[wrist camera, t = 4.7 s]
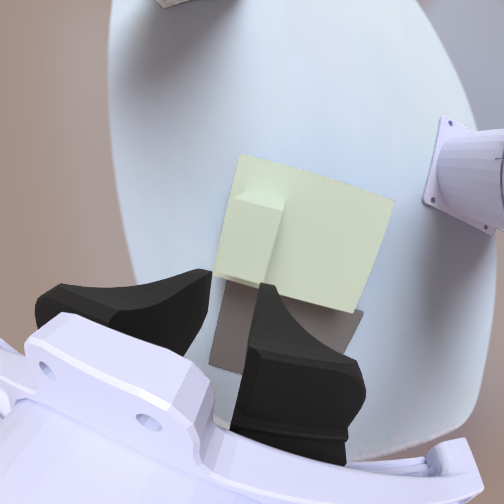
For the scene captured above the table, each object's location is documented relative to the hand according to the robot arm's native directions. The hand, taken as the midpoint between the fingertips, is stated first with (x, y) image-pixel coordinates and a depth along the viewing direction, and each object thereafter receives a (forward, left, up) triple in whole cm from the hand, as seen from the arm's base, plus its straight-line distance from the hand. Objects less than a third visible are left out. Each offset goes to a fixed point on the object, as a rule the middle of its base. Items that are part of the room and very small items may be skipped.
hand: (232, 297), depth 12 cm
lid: (-3, -2, -7) cm, 8 cm away
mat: (-4, +9, -10) cm, 14 cm away
